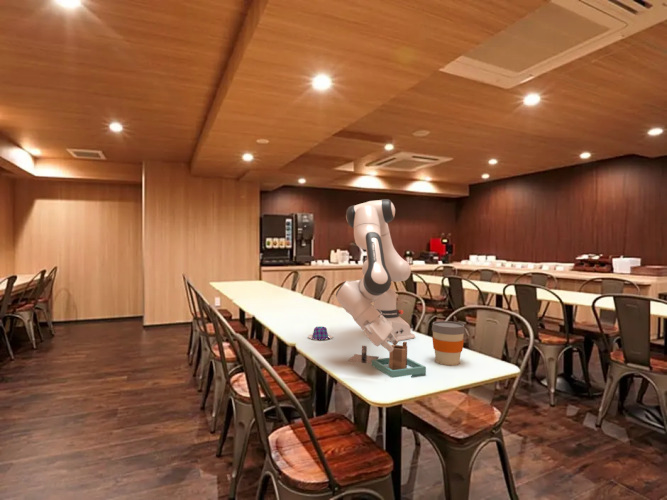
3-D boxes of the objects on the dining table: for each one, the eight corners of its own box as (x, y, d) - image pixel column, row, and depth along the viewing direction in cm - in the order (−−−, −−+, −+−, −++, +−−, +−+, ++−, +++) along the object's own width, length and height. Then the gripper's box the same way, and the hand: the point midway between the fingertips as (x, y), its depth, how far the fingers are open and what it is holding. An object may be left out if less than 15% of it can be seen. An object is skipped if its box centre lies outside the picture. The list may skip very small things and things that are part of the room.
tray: (403, 363, 150) (403, 356, 150) (425, 375, 137) (425, 366, 137) (371, 367, 145) (371, 359, 145) (391, 380, 132) (392, 371, 132)
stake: (355, 356, 159) (355, 341, 159) (379, 359, 156) (379, 344, 156) (348, 363, 149) (348, 348, 149) (373, 366, 146) (374, 350, 146)
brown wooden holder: (391, 366, 145) (392, 339, 145) (406, 367, 143) (407, 340, 143) (389, 370, 139) (389, 342, 139) (404, 372, 138) (405, 344, 137)
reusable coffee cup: (424, 358, 157) (425, 322, 157) (449, 355, 162) (450, 320, 162) (445, 368, 146) (446, 328, 145) (471, 364, 151) (472, 326, 150)
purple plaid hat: (329, 334, 196) (330, 324, 196) (335, 340, 185) (335, 329, 185) (306, 335, 194) (306, 325, 194) (310, 341, 182) (310, 330, 182)
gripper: (368, 318, 134) (396, 349, 131) (380, 308, 153) (404, 335, 150) (355, 330, 135) (383, 361, 133) (368, 319, 155) (393, 345, 152)
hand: (394, 347), depth 142 cm, fingers open, 8 cm apart
